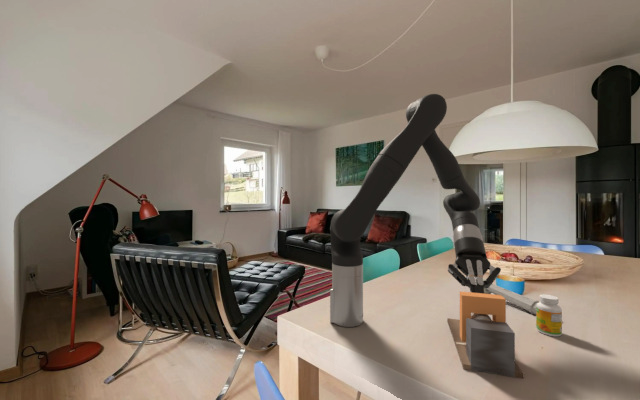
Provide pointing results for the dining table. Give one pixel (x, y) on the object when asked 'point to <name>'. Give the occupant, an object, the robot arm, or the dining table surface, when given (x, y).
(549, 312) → the supplement bottle
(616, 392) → the dining table surface
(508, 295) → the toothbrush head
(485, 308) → the collar
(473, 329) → the pipe stand
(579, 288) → the dining table surface
